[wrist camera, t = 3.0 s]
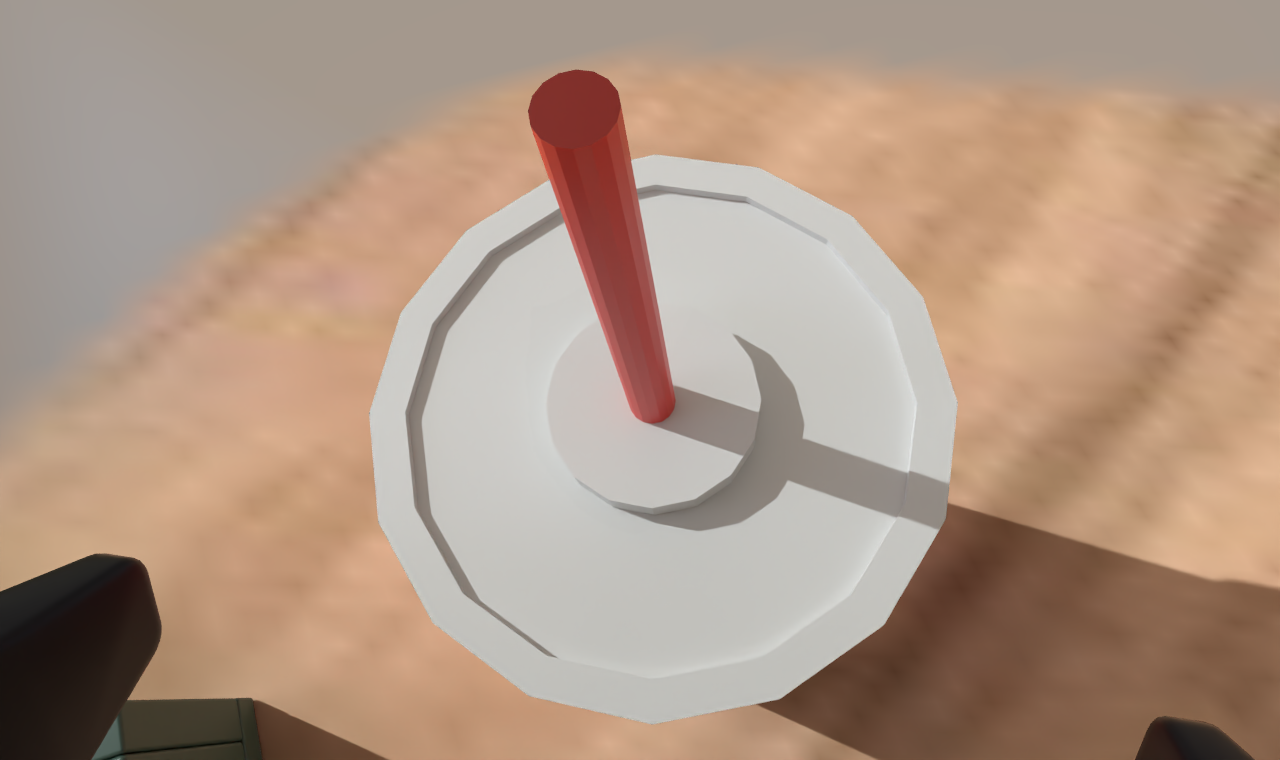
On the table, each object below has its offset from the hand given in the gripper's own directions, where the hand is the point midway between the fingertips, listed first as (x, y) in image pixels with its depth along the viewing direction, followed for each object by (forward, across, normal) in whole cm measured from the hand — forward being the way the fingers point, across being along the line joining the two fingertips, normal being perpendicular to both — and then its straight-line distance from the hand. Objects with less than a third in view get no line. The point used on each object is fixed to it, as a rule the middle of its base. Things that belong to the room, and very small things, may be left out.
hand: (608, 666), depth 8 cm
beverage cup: (+9, 0, +5) cm, 10 cm away
